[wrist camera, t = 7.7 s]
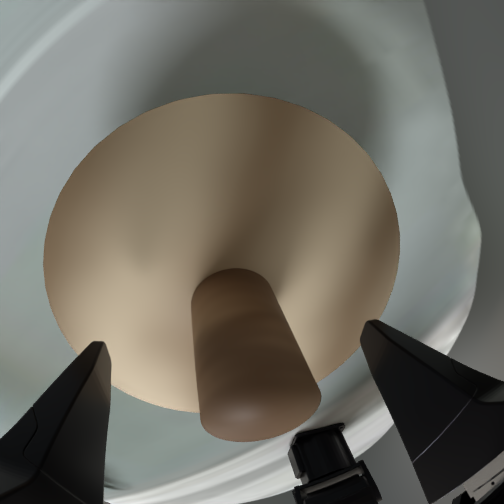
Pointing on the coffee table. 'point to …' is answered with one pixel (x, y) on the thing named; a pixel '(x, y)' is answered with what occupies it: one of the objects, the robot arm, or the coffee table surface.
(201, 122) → the lid
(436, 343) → the coffee table surface
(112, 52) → the coffee table surface
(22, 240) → the coffee table surface
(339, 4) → the coffee table surface
